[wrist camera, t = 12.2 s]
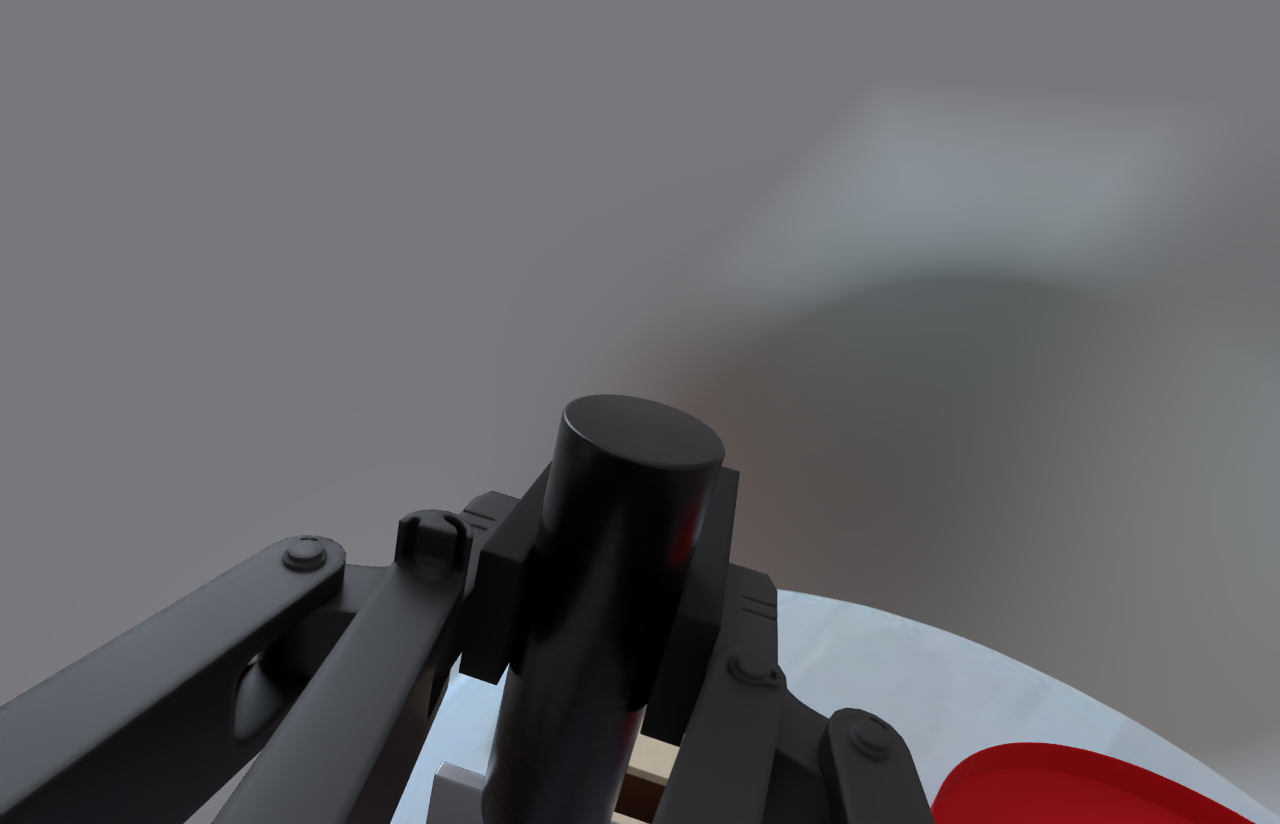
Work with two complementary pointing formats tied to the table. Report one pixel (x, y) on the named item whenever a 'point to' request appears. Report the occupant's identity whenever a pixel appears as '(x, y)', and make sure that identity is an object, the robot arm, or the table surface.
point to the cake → (646, 778)
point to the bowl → (1066, 791)
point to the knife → (591, 614)
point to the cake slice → (625, 819)
